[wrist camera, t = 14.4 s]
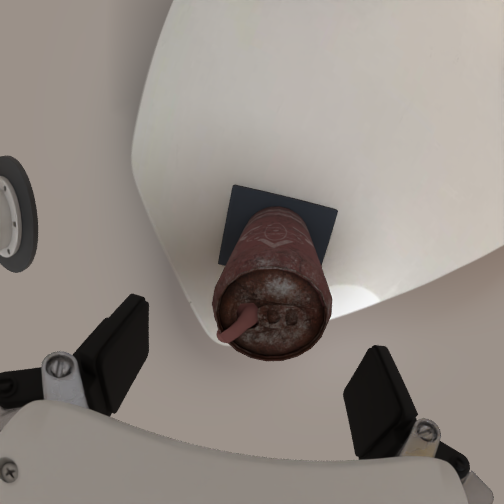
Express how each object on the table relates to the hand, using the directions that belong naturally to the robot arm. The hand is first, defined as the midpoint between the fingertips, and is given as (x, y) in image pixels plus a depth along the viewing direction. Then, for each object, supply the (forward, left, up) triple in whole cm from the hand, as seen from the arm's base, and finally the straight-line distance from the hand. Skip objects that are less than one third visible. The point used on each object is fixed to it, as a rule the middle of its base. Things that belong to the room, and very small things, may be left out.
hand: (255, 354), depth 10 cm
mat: (+1, 0, -17) cm, 17 cm away
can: (0, 0, -17) cm, 17 cm away
